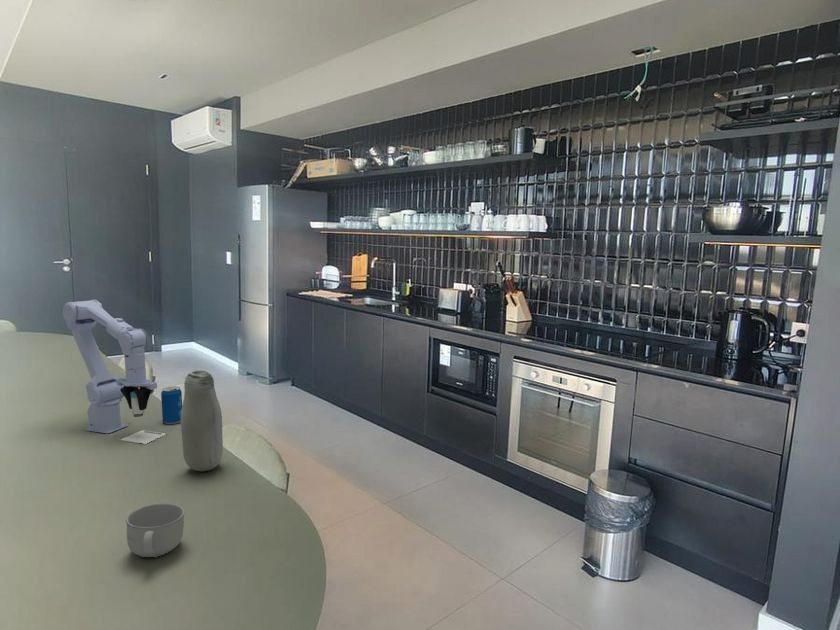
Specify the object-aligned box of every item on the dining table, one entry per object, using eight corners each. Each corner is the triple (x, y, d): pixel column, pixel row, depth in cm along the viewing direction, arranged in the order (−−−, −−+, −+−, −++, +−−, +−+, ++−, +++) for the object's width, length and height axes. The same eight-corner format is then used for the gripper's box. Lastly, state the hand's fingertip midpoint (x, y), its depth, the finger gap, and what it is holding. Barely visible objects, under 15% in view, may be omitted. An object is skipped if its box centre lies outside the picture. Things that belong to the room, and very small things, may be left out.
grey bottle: (230, 464, 154) (226, 368, 150) (205, 479, 145) (200, 377, 141) (202, 459, 157) (197, 365, 153) (176, 473, 148) (170, 374, 144)
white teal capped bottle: (129, 416, 173) (127, 392, 171) (138, 413, 176) (137, 389, 175) (138, 417, 171) (136, 393, 170) (147, 414, 175) (146, 390, 174)
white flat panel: (120, 440, 171) (120, 439, 171) (142, 431, 179) (142, 429, 179) (145, 444, 168) (145, 443, 168) (167, 434, 176) (167, 433, 176)
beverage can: (175, 425, 185) (173, 391, 183) (158, 424, 186) (156, 390, 184) (187, 419, 191) (185, 386, 189) (170, 418, 192) (168, 385, 191)
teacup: (141, 536, 117) (139, 501, 116) (193, 534, 118) (191, 500, 117) (110, 576, 103) (107, 537, 102) (169, 573, 104) (167, 535, 103)
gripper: (107, 368, 170) (110, 410, 172) (143, 372, 166) (146, 415, 167) (125, 363, 177) (128, 403, 179) (161, 367, 172) (163, 408, 174)
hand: (138, 408), depth 173 cm, fingers closed on white teal capped bottle, 3 cm apart
